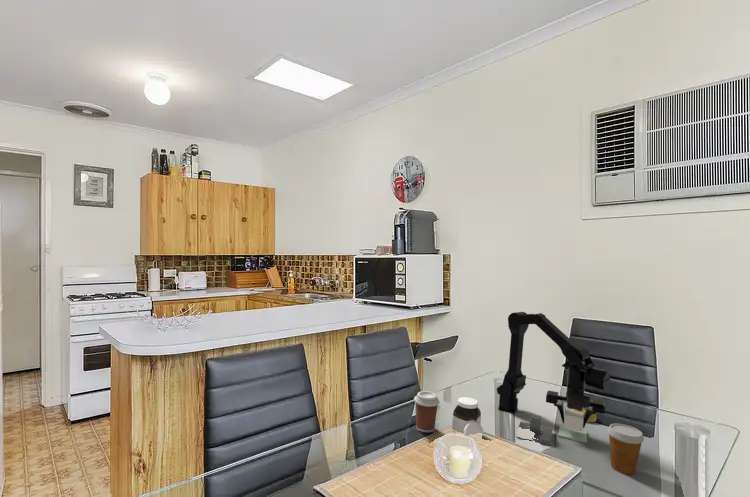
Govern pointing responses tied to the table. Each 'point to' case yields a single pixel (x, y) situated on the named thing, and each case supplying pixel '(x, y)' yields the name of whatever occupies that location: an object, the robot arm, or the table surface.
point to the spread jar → (467, 417)
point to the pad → (572, 434)
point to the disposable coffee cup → (624, 447)
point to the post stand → (538, 430)
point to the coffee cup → (426, 410)
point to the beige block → (573, 420)
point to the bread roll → (591, 418)
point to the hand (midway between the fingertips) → (573, 425)
